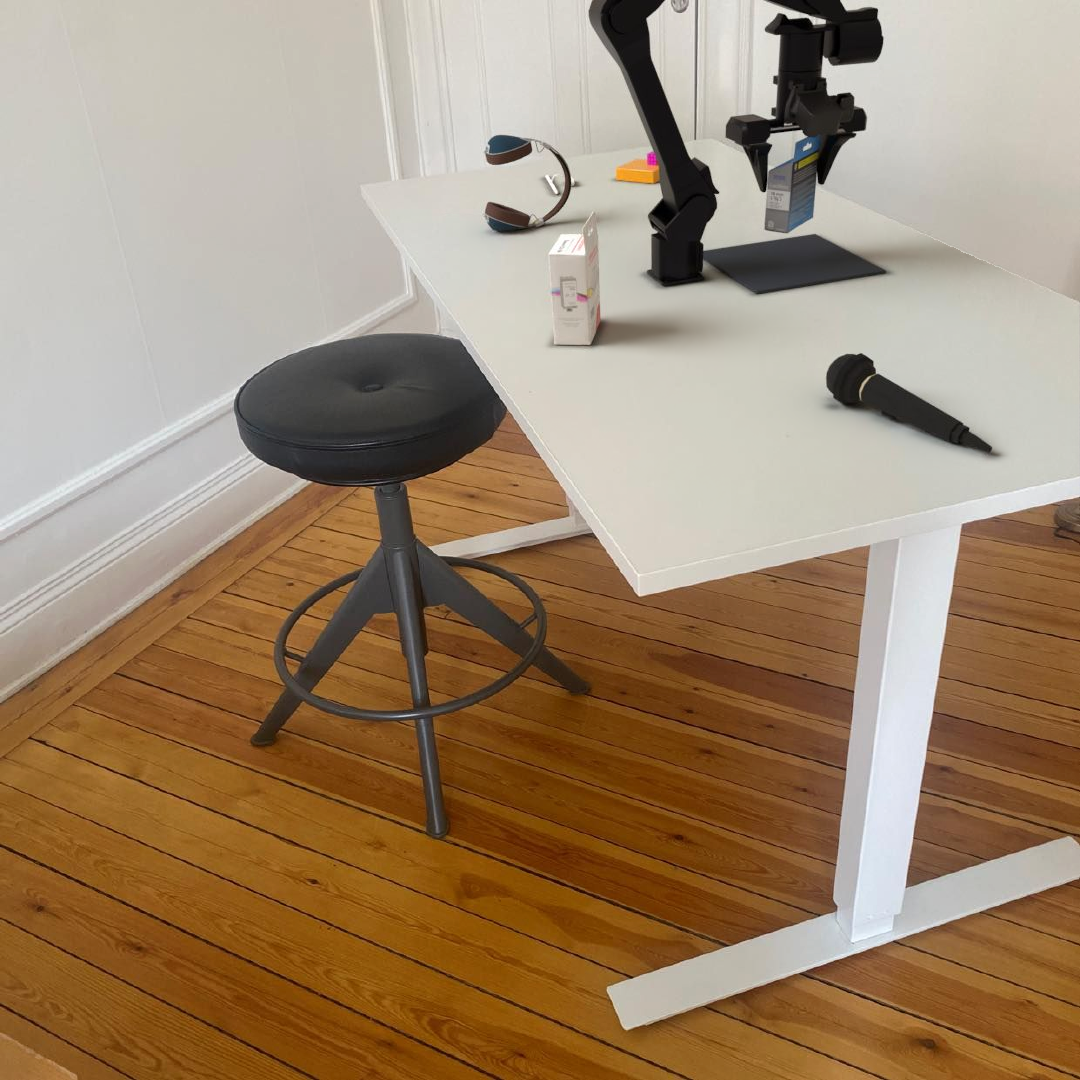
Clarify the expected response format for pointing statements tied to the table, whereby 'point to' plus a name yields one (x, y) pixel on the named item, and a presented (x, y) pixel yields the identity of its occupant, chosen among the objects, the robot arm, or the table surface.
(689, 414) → the table surface
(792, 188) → the blue epson carton
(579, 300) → the ink cartridge box
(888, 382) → the microphone
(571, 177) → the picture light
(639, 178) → the orange and magenta block
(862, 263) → the desk mat
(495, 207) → the headphones
